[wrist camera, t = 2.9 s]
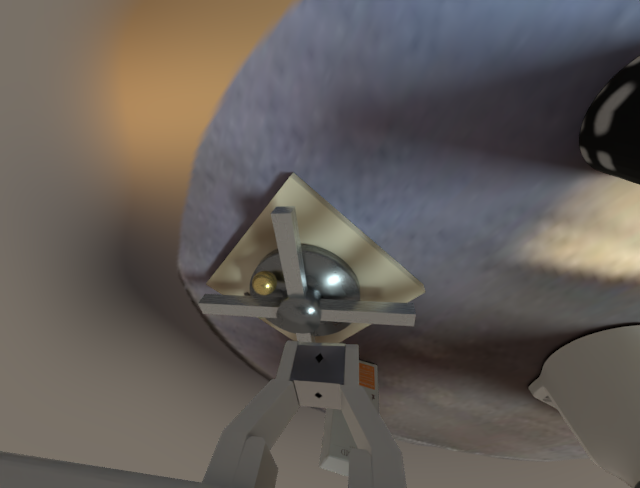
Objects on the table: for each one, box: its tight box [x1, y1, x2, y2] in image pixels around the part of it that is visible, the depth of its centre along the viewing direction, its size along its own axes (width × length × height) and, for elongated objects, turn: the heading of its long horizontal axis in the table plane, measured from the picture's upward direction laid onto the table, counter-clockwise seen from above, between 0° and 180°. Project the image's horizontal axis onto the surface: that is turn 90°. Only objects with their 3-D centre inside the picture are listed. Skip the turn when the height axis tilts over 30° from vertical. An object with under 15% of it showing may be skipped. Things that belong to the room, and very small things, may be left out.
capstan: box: [198, 206, 416, 343], centre depth 25 cm, size 17×17×4 cm
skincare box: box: [319, 360, 379, 476], centre depth 31 cm, size 6×4×12 cm
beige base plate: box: [206, 173, 425, 343], centre depth 28 cm, size 18×18×1 cm
